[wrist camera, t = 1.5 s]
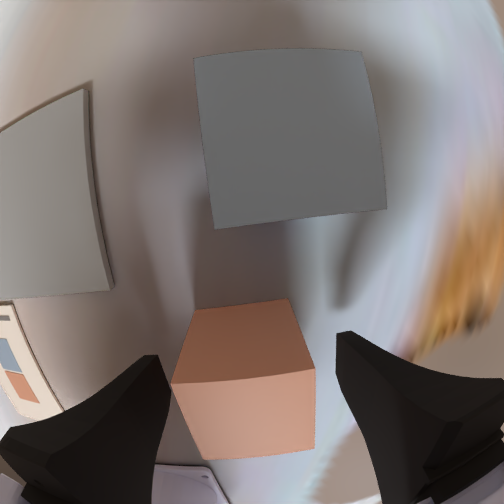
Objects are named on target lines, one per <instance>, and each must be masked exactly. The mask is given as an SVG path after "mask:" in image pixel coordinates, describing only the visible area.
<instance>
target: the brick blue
mask: <svg viewBox="0 0 504 504" xmlns="http://www.w3.org/2000/svg"><path fill="white" fill-rule="evenodd" d="M193 59H194V70H195V80H196V90H197V100H198V109H199V118H200V126H201V135H202V143H203V151H204V159H205V166H206V174H207V181H208V188H209V195H210V202H211V209H212V216H213V223H214V229H215V230H216V229H223V228H230V227H238V226H245V225H253V224H260V223H268V222H276V221H284V220H292V219H300V218H309V217H317V216H326V215H335V214H344V213H353V212H363V211H373V210H383V209H387V201H386V188H385V177H384V167H383V158H382V150H381V143H380V136H379V130H378V124H377V118H376V112H375V107H374V102H373V97H372V92H371V88H370V83H369V79H368V75H367V71H366V67H365V63H364V59H363V56H362V52H359V51H349V50H336V49H314V48H286V49H263V50H250V51H240V52H231V53H223V54H216V55H209V56H203V57H198V58H193Z"/></svg>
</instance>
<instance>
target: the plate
mask: <svg viewBox="0 0 504 504" xmlns="http://www.w3.org/2000/svg"><path fill="white" fill-rule="evenodd" d="M113 287H114V282H113V278H112V274H111V270H110V266H109V262H108V258H107V253H106V249H105V244H104V239H103V234H102V229H101V224H100V218H99V213H98V207H97V200H96V193H95V186H94V178H93V169H92V159H91V147H90V131H89V91H87V90H86V89H84V88H83V89H81V90H78V91H76V92H74V93H71V94H69V95H67V96H65V97H63V98H61V99H59V100H57V101H55V102H53V103H51V104H49V105H47V106H45V107H43V108H41V109H39V110H37V111H35V112H34V113H32V114H30V115H28V116H26V117H25V118H23V119H21V120H20V121H18V122H16V123H15V124H13V125H12V126H10V127H8V128H7V129H5V130H4V131H2V132H1V133H0V300H6V299H19V298H32V297H43V296H55V295H66V294H77V293H87V292H97V291H107V290H111V289H112V288H113Z"/></svg>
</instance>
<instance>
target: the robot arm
mask: <svg viewBox="0 0 504 504" xmlns="http://www.w3.org/2000/svg"><path fill="white" fill-rule="evenodd" d="M335 373H336V376H337V379H338V382H339V385H340V388H341V391H342V393H343V395H344V397H345V400H346V402H347V404H348V406H349V408H350V410H351V412H352V414H353V416H354V418H355V420H356V422H357V424H358V426H359V428H360V430H361V432H362V434H363V436H364V438H365V441H366V445H367V447H368V451H369V454H370V457H371V460H372V463H373V467H374V470H375V474H376V477H377V481H378V485H379V490H380V494H381V499H382V503H383V504H504V442H503V441H502V440H501V439H502V438H503V436H504V433H503V432H502V431H501V429H500V428H501V426H502V424H503V423H504V380H503V379H502V378H470V377H461V376H455V375H450V374H445V373H441V372H437V371H433V370H430V369H427V368H424V367H421V366H418V365H415V364H413V363H410V362H408V361H406V360H404V359H401V358H399V357H397V356H395V355H393V354H391V353H389V352H387V351H385V350H384V349H382V348H380V347H378V346H376V345H375V344H373V343H371V342H370V341H368V340H366V339H365V338H363V337H361V336H360V335H358V334H356V333H354V332H353V331H346V332H341V333H336V371H335ZM170 399H171V389H170V387H169V384H168V381H167V379H166V376H165V373H164V371H163V368H162V365H161V362H160V360H159V357H158V355H144V356H143V357H141V358H140V359H139V360H137V361H136V362H135V363H134V364H132V365H131V366H130V367H129V368H128V369H126V370H125V371H124V372H123V373H122V374H120V375H119V376H118V377H117V378H115V379H114V380H113V381H112V382H110V383H109V384H108V385H106V386H105V387H104V388H102V389H101V390H100V391H98V392H97V393H96V394H94V395H93V396H91V397H90V398H88V399H86V400H85V401H83V402H81V403H80V404H78V405H76V406H74V407H72V408H70V409H68V410H66V411H64V412H62V413H59V414H57V415H55V416H52V417H49V418H47V419H44V420H40V421H37V422H34V423H30V424H25V425H20V426H15V427H10V428H9V430H8V431H7V432H6V434H5V435H4V436H3V438H2V439H1V441H0V455H1V456H2V457H3V459H4V460H5V461H6V462H7V463H8V464H9V465H10V467H12V469H13V470H14V471H15V472H16V473H17V474H18V475H19V476H20V477H21V478H22V479H23V480H24V481H25V482H27V484H26V485H25V487H23V486H22V485H21V484H19V483H18V482H16V481H14V480H13V479H11V478H9V477H8V476H6V475H4V474H1V475H0V504H229V503H228V501H227V499H226V497H225V496H224V494H223V492H222V490H221V489H220V487H219V485H218V483H217V481H216V479H215V477H214V476H213V474H212V472H211V470H210V469H209V468H207V467H191V466H170V465H157V464H155V460H156V455H157V451H158V447H159V444H160V440H161V437H162V433H163V430H164V426H165V423H166V419H167V416H168V412H169V406H170Z"/></svg>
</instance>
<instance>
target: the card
mask: <svg viewBox="0 0 504 504" xmlns="http://www.w3.org/2000/svg"><path fill="white" fill-rule="evenodd" d="M0 384H1V386H2V388H3V389H4V391H5V393H6V394H7V396H8V398H9V399H10V401H11V402H12V404H13V405H14V407H15V409H16V410H17V412H18V413H19V414H20V415H23V416H26V417H29V418H32V419H35V420H38V421H40V420H44V419H47V418H49V417H52V416H55V415H57V414H59V413H62V412H64V410H63V408H62V407H61V405H60V403H59V402H58V400H57V398H56V397H55V395H54V393H53V392H52V390H51V388H50V386H49V384H48V383H47V381H46V379H45V377H44V375H43V373H42V371H41V369H40V367H39V365H38V363H37V361H36V359H35V357H34V355H33V353H32V351H31V348H30V346H29V344H28V342H27V339H26V337H25V335H24V332H23V330H22V327H21V325H20V322H19V320H18V317H17V314H16V311H15V309H14V306H13V304H12V305H0Z"/></svg>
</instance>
